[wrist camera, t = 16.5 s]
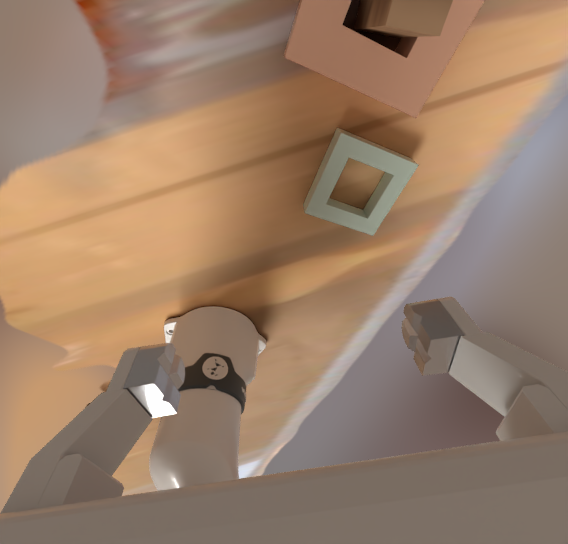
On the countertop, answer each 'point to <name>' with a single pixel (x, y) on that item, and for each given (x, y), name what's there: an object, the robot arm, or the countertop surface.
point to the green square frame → (382, 197)
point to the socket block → (376, 53)
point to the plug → (402, 17)
